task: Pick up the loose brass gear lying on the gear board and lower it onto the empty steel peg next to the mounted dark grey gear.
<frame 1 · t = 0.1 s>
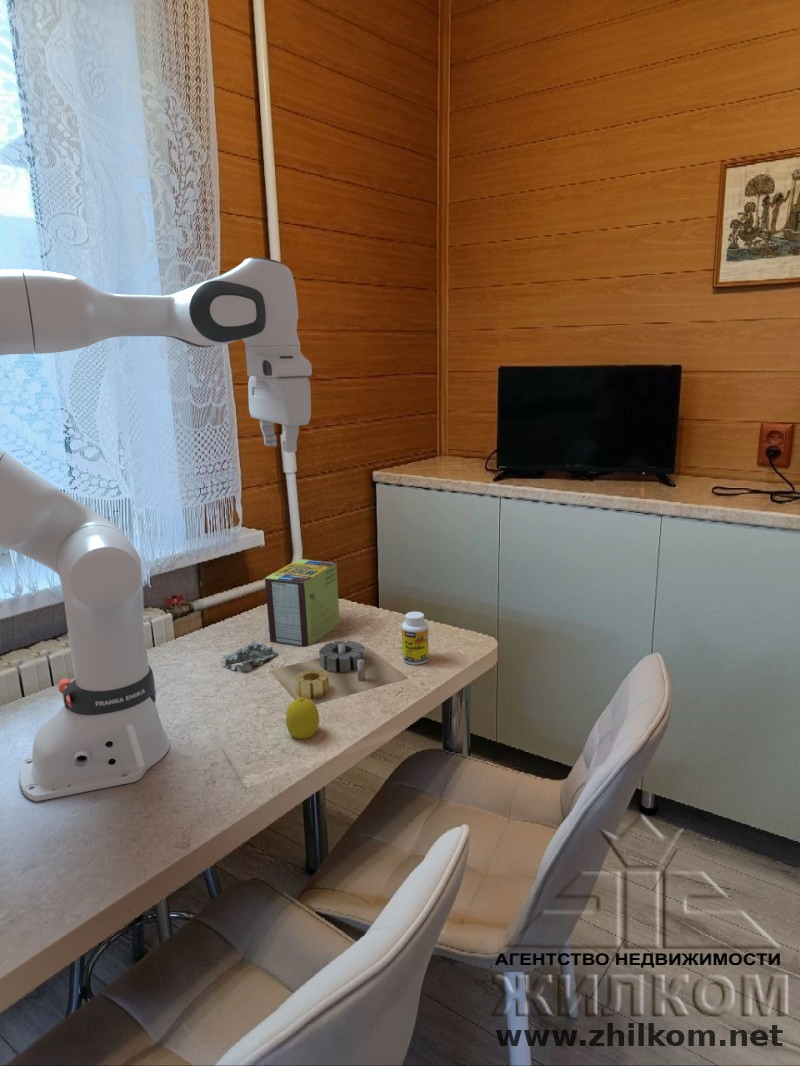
hand: (280, 448, 118), 48 cm above the table, tool pointing down, fingers open, 8 cm apart
supplement bottle: (415, 660, 148), on the table
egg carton: (250, 669, 147), on the table
lemon: (304, 741, 119), on the table
brass gear: (312, 691, 133), point 1 cm above the table, touching gear board
grey gear: (342, 656, 144), point 3 cm above the table, hinge at 0.0°
gear board: (337, 681, 140), on the table
protein box: (305, 633, 164), on the table
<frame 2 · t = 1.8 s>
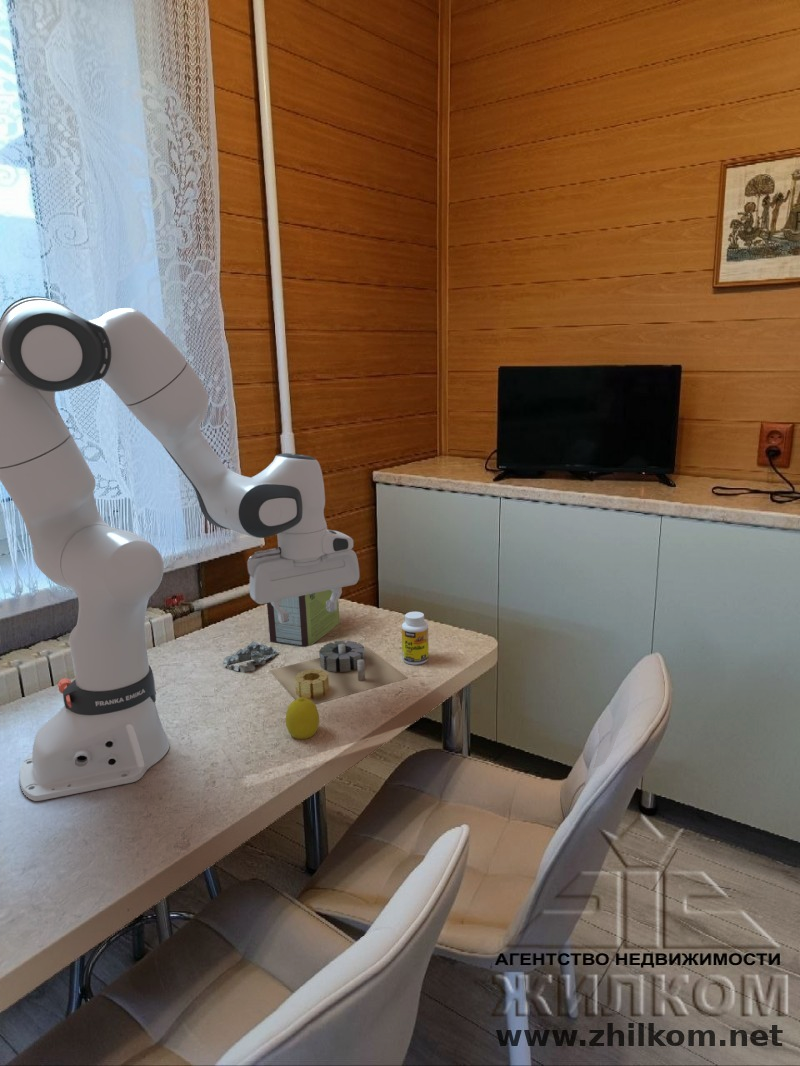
hand: (308, 615, 129), 17 cm above the table, tool pointing down, fingers open, 8 cm apart
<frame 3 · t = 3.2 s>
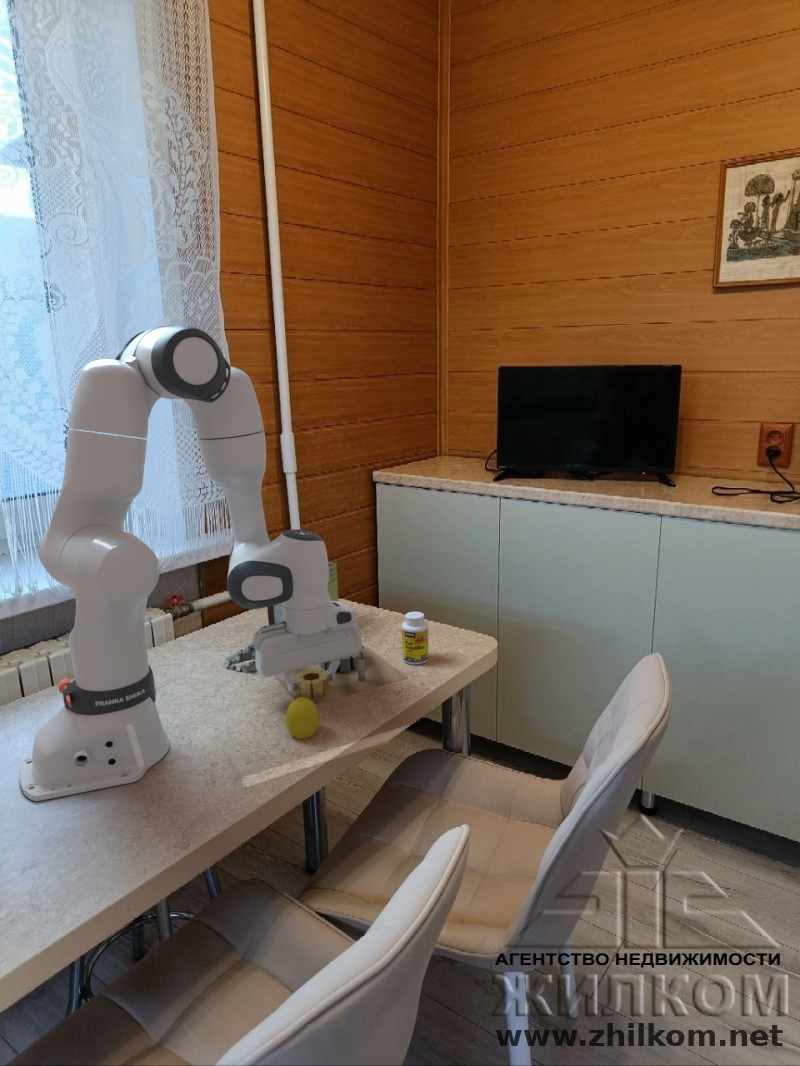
hand: (311, 685, 132), 3 cm above the table, tool pointing down, fingers closed on brass gear, 6 cm apart
brass gear: (312, 691, 133), point 1 cm above the table, touching gear board, gripper
everything else where it was.
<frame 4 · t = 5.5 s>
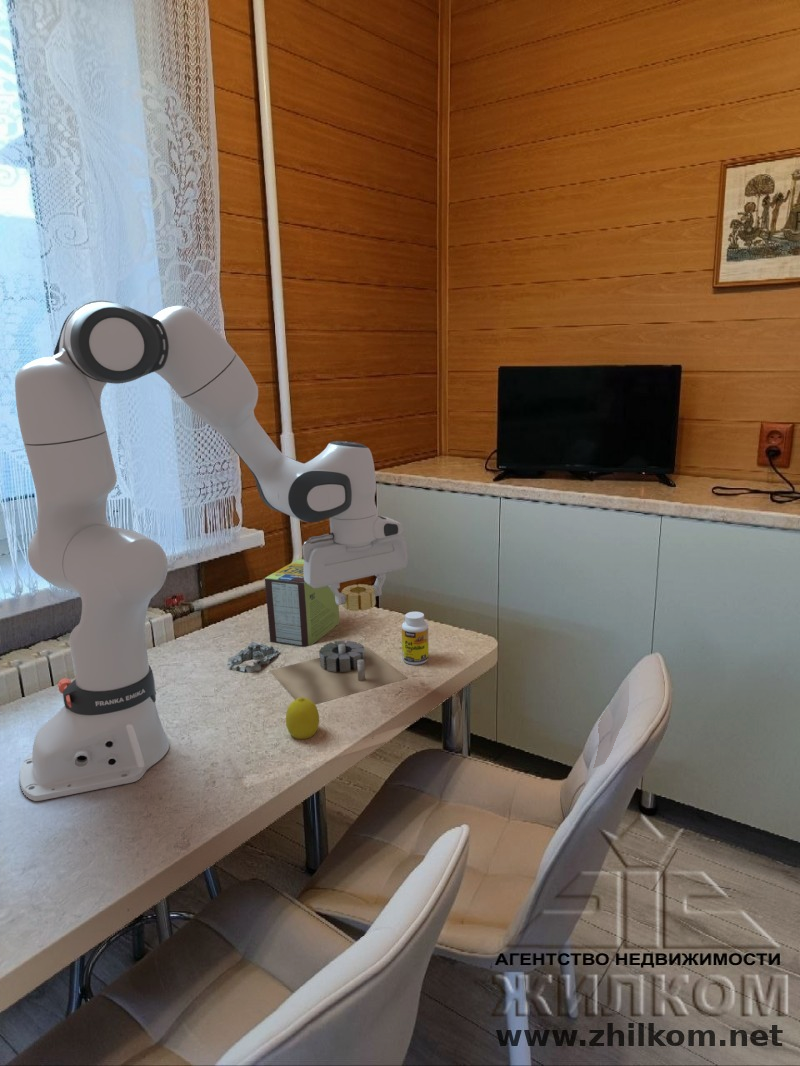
hand: (358, 599, 132), 18 cm above the table, tool pointing down, fingers closed on brass gear, 6 cm apart
brass gear: (359, 604, 133), point 17 cm above the table, touching gripper
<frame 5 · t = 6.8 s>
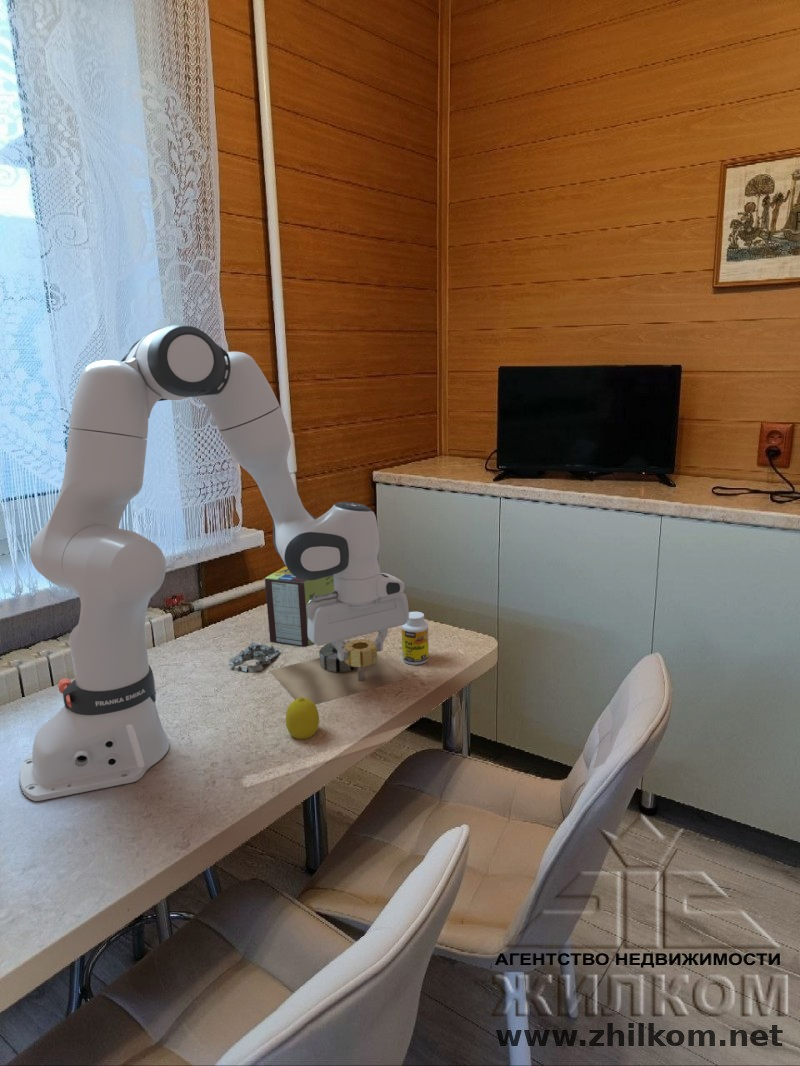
hand: (360, 654, 135), 7 cm above the table, tool pointing down, fingers closed on brass gear, 6 cm apart
brass gear: (360, 659, 136), point 6 cm above the table, touching gripper
when the fingers open (4 cm above the table, at t = 7.7 s): brass gear drops 1 cm, resting on gear board.
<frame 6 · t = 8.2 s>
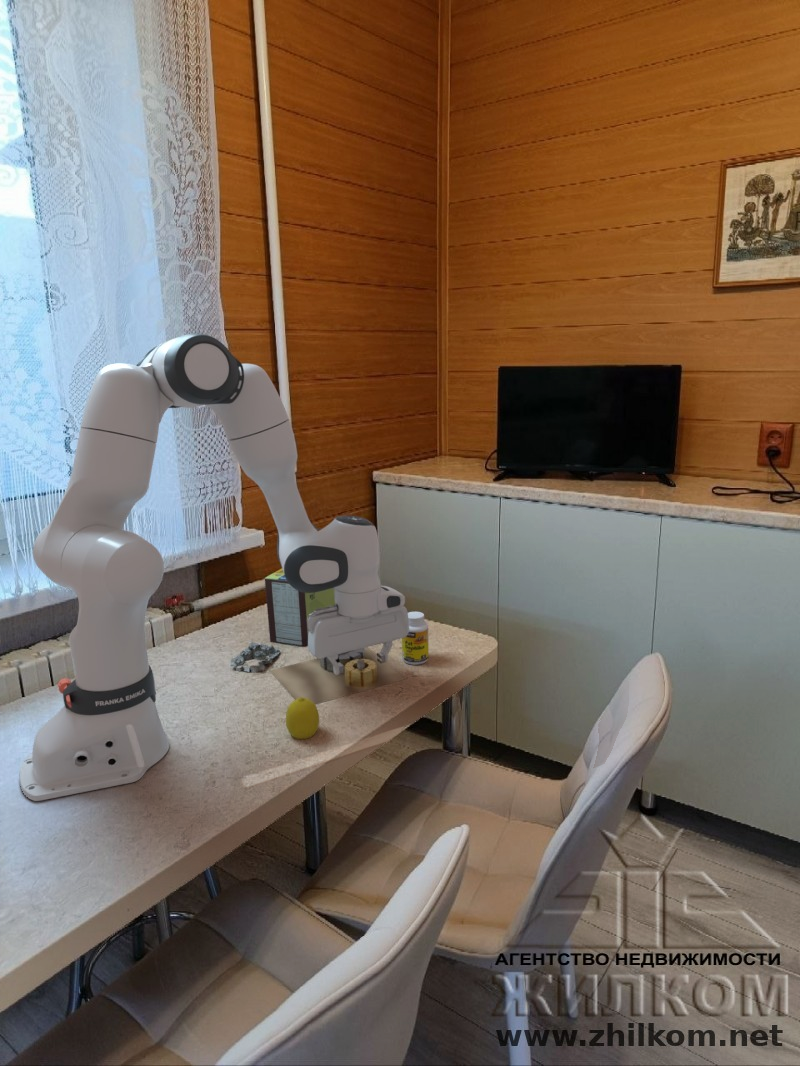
hand: (360, 667, 136), 4 cm above the table, tool pointing down, fingers open, 8 cm apart
brass gear: (361, 679, 137), point 1 cm above the table, touching gear board
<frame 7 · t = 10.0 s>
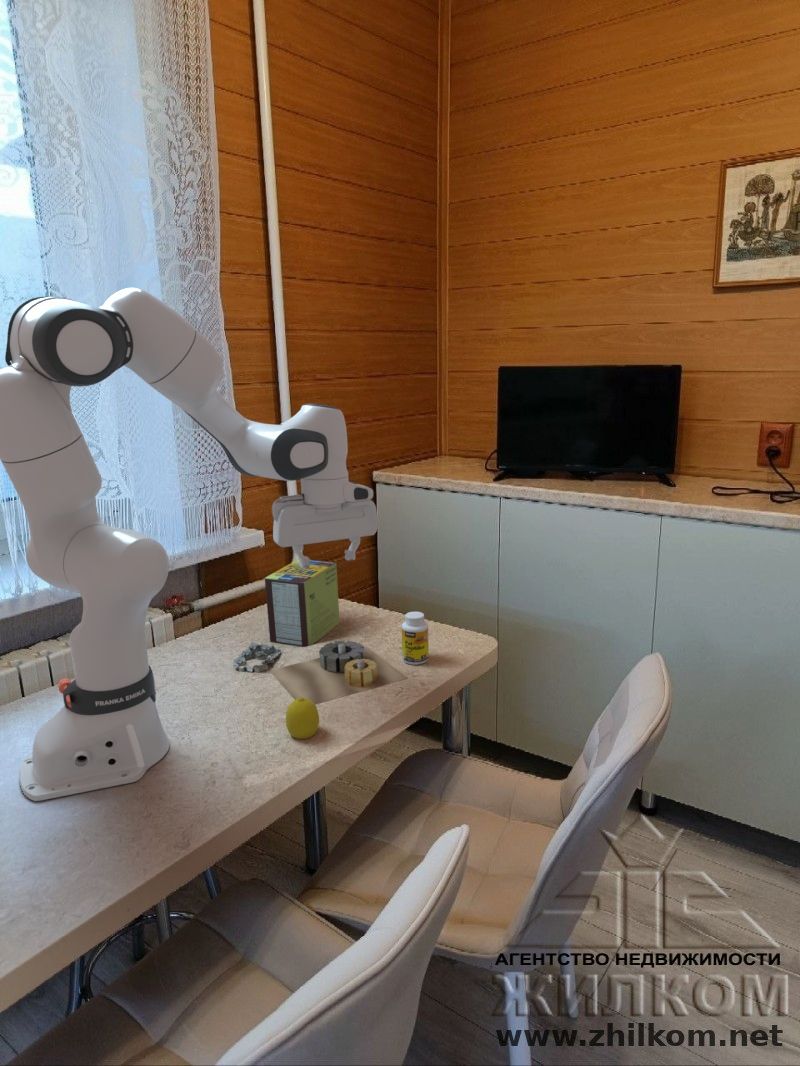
hand: (327, 563, 134), 24 cm above the table, tool pointing down, fingers open, 8 cm apart
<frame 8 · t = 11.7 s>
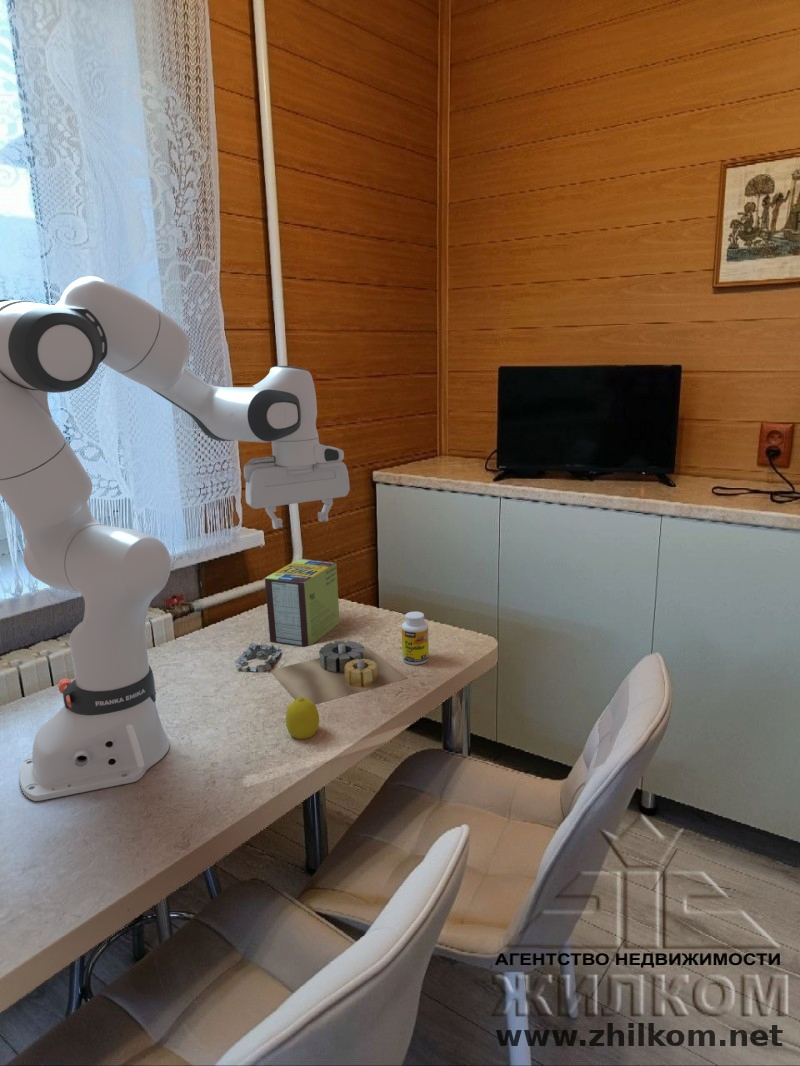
hand: (300, 524, 136), 31 cm above the table, tool pointing down, fingers open, 8 cm apart
at the end: brass gear 0.1 cm from the target spot, point 1.5 cm above the table; the gripper is holding nothing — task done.
